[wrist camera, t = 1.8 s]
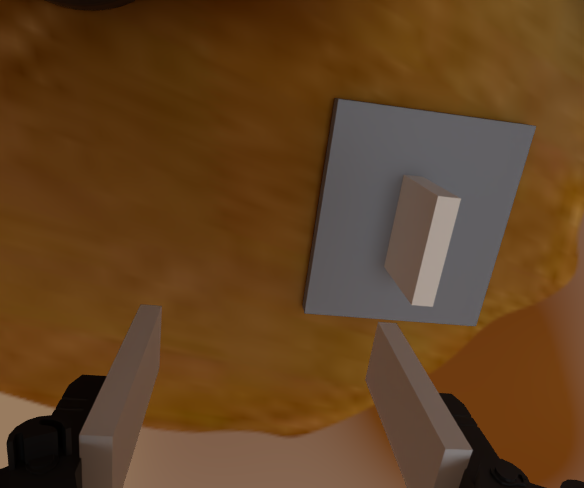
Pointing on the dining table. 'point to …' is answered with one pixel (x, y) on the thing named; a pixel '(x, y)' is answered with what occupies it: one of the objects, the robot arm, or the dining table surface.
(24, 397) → the dining table surface
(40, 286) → the dining table surface
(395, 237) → the tile
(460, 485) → the robot arm
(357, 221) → the board
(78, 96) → the dining table surface
